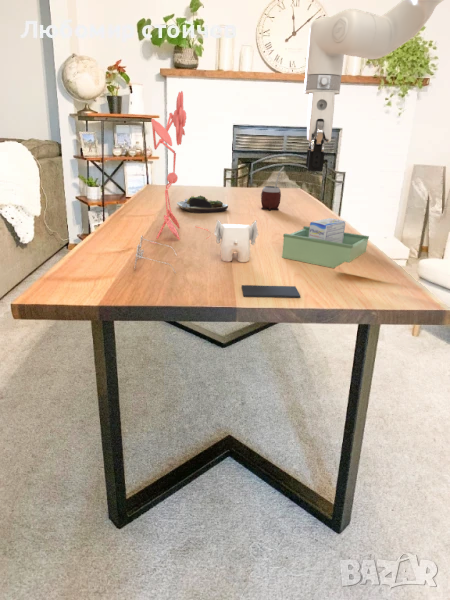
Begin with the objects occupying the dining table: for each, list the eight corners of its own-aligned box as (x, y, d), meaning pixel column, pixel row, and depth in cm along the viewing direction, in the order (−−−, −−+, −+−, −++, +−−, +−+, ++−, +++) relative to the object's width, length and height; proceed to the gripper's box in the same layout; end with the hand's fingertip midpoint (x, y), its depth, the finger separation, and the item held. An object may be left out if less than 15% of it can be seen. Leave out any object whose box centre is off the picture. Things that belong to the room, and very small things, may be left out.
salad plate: (166, 204, 163) (165, 192, 161) (210, 202, 170) (210, 190, 169) (186, 214, 147) (186, 200, 145) (233, 211, 154) (234, 198, 153)
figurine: (148, 247, 106) (144, 85, 93) (160, 224, 130) (157, 93, 117) (213, 248, 107) (216, 88, 94) (212, 226, 131) (215, 96, 118)
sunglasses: (139, 254, 99) (142, 233, 98) (176, 260, 101) (180, 239, 99) (132, 273, 87) (135, 249, 85) (175, 280, 88) (179, 256, 86)
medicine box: (325, 253, 106) (329, 217, 103) (341, 257, 103) (346, 220, 100) (305, 259, 101) (309, 221, 98) (322, 263, 98) (326, 225, 95)
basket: (365, 259, 102) (369, 236, 100) (348, 271, 93) (351, 245, 91) (302, 247, 111) (305, 226, 109) (281, 257, 101) (283, 234, 99)
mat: (295, 288, 82) (295, 286, 82) (300, 298, 78) (300, 295, 77) (241, 287, 82) (241, 285, 82) (243, 296, 77) (243, 294, 77)
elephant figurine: (254, 251, 106) (257, 214, 102) (257, 266, 94) (259, 224, 91) (214, 249, 106) (216, 212, 102) (212, 264, 94) (213, 223, 91)
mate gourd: (259, 210, 159) (262, 166, 153) (261, 206, 166) (263, 165, 160) (280, 211, 158) (284, 168, 152) (281, 208, 165) (284, 166, 160)
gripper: (345, 82, 86) (334, 173, 92) (336, 90, 102) (327, 167, 108) (306, 81, 87) (298, 171, 93) (303, 89, 103) (296, 165, 109)
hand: (313, 169), depth 101 cm, fingers open, 9 cm apart
